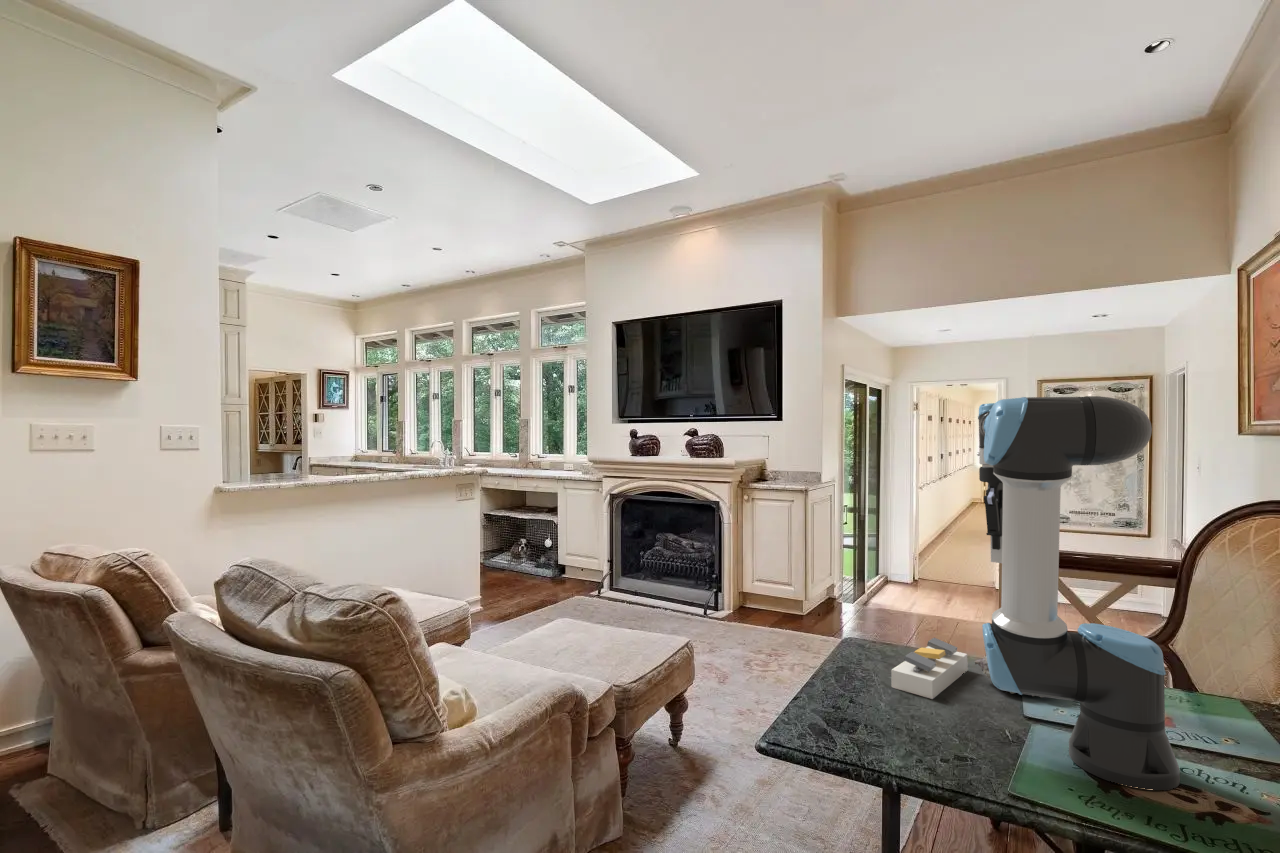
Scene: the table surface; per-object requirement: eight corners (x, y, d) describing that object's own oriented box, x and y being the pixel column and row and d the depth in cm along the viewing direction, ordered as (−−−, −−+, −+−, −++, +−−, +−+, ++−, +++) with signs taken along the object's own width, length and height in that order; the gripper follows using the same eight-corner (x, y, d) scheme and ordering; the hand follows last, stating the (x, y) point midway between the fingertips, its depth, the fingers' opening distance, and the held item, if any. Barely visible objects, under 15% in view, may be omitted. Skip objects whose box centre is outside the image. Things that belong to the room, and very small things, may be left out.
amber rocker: (945, 654, 145) (944, 650, 145) (939, 659, 142) (938, 654, 142) (921, 652, 149) (920, 647, 149) (914, 656, 146) (914, 651, 146)
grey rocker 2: (956, 651, 150) (957, 647, 150) (950, 655, 147) (951, 651, 147) (933, 641, 154) (934, 637, 154) (927, 645, 151) (928, 641, 151)
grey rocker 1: (935, 667, 140) (936, 662, 140) (928, 671, 137) (929, 667, 137) (910, 655, 144) (911, 651, 144) (903, 660, 141) (904, 655, 141)
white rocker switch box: (974, 665, 154) (973, 644, 154) (932, 699, 134) (932, 675, 134) (936, 656, 160) (936, 636, 160) (891, 687, 141) (891, 664, 141)
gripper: (987, 464, 159) (989, 556, 158) (971, 466, 149) (972, 564, 149) (1021, 465, 153) (1022, 560, 153) (1006, 467, 144) (1007, 568, 144)
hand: (997, 562), depth 151 cm, fingers closed
